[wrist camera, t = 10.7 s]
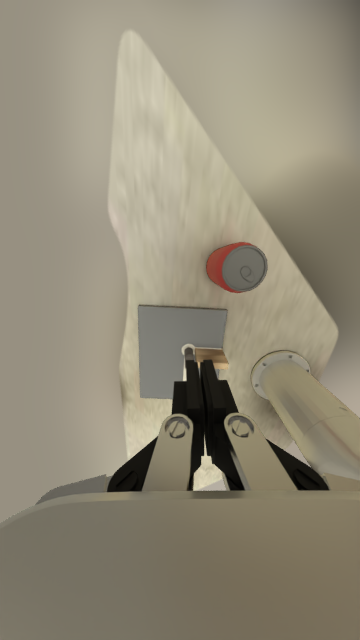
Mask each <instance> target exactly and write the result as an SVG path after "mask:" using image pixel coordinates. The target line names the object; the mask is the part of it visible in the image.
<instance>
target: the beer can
mask: <svg viewBox="0 0 360 640" xmlns="http://www.w3.org/2000/svg"><path fill="white" fill-rule="evenodd" d="M267 268H268V267H267V259H266V257H265V254H264V253H263V252H262V251H261V250H260V249H259V248H257V247H256V246H254V245H252V244H250V243H245V242H239V243H234V244H231V245H228V246H225V247H222V248H219V249H217V250H216V251H214V252H213V253H212V254H211V255H210V257H209V259H208V261H207V266H206V269H207V274H208V276H209V278H210V279H211V280H212V281H213V282H214V283H216V284H217V285H219V286H220V287H222V288H223V289H225V290H227V291H229V292H234V293H241V292H246V291H250V290H252V289H254V288H256V287H257V286H258V285H259V284H260V283H261V282H262V281H263V279H264V278H265V276H266V272H267Z"/></svg>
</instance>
